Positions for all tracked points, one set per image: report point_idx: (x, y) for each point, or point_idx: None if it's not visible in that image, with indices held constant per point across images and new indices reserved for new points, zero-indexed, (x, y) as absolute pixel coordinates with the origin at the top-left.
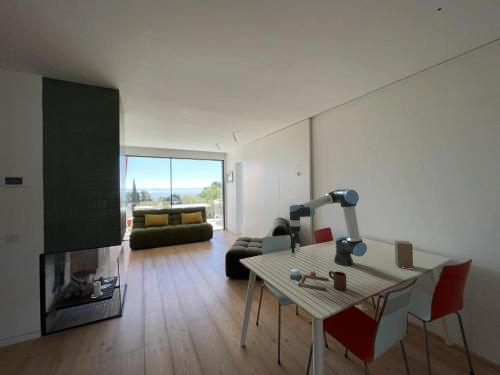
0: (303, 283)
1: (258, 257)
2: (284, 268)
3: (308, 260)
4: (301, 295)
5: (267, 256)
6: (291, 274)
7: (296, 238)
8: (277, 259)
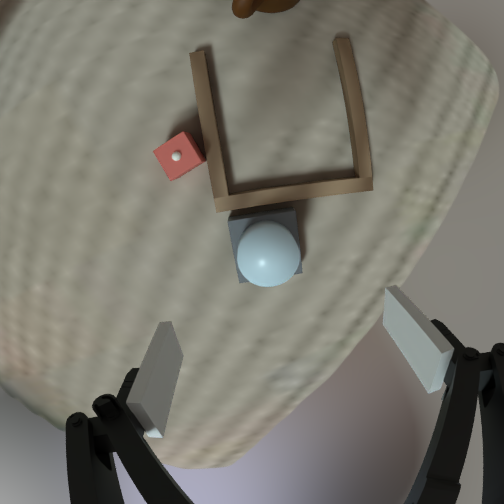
0: (359, 162)
1: None
2: None
3: (7, 272)
4: (442, 147)
5: None
6: None
7: (456, 494)
8: None
